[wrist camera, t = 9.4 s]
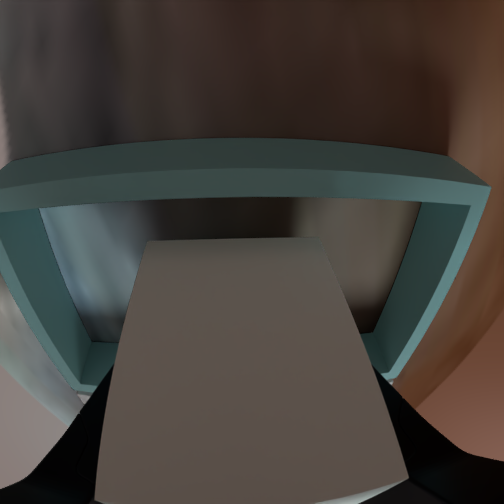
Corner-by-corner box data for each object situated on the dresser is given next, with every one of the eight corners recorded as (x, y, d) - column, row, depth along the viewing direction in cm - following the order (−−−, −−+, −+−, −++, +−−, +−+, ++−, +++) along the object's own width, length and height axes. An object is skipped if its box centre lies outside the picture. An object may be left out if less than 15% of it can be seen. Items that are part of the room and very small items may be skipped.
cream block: (297, 342, 12) (333, 513, 7) (170, 347, 12) (162, 524, 6) (318, 237, 9) (409, 478, 4) (147, 240, 9) (94, 499, 3)
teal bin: (380, 339, 15) (396, 377, 13) (84, 349, 14) (73, 389, 12) (448, 156, 9) (491, 187, 7) (11, 161, 8) (-31, 195, 6)
